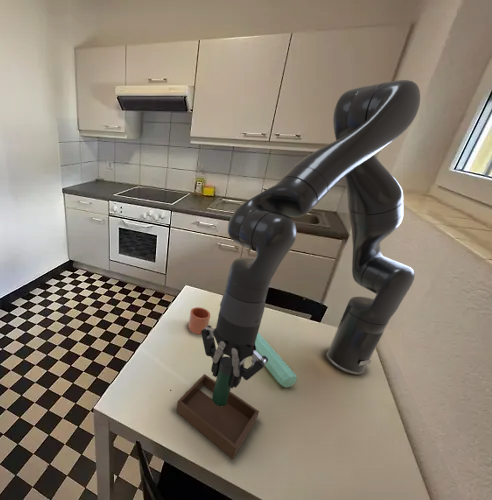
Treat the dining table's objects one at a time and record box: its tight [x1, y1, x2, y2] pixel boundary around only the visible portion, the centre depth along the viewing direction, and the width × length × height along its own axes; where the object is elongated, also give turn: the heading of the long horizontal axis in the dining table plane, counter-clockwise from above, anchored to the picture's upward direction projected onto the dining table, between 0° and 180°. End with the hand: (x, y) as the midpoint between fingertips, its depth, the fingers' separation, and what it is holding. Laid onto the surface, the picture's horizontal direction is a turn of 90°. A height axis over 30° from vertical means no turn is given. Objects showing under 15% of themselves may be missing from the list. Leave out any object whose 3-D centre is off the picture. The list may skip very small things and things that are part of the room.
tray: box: [175, 373, 260, 460], centre depth 63 cm, size 11×14×4 cm
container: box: [255, 332, 298, 388], centre depth 82 cm, size 6×6×25 cm
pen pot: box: [187, 306, 211, 335], centre depth 90 cm, size 6×6×6 cm
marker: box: [211, 355, 233, 407], centre depth 59 cm, size 3×3×11 cm
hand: (224, 379), depth 59 cm, fingers closed on marker, 3 cm apart
